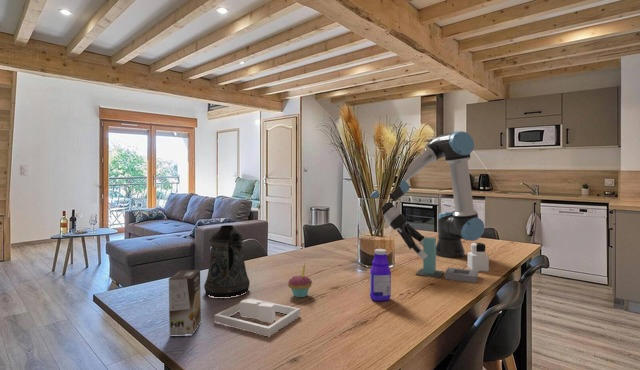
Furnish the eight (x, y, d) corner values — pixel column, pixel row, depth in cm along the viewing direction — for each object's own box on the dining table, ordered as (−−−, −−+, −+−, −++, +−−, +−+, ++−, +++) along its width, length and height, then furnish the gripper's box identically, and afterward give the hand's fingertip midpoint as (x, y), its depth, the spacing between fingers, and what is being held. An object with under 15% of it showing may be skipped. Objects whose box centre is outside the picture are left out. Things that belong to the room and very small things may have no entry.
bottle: (387, 295, 128) (387, 247, 127) (393, 301, 122) (393, 251, 122) (367, 297, 126) (367, 248, 126) (372, 302, 121) (372, 252, 120)
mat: (420, 269, 162) (420, 268, 162) (443, 272, 157) (443, 271, 157) (415, 275, 153) (415, 273, 153) (439, 278, 148) (439, 277, 148)
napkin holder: (231, 317, 110) (230, 299, 110) (264, 309, 117) (264, 292, 117) (249, 335, 98) (249, 314, 98) (286, 324, 104) (285, 305, 104)
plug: (425, 270, 159) (425, 237, 158) (435, 271, 156) (435, 237, 156) (423, 272, 155) (423, 238, 154) (433, 274, 152) (433, 239, 152)
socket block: (448, 272, 156) (448, 267, 156) (478, 276, 150) (478, 270, 150) (444, 278, 147) (444, 272, 147) (475, 282, 142) (476, 276, 142)
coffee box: (193, 336, 96) (192, 278, 96) (169, 337, 96) (167, 279, 95) (201, 322, 106) (200, 269, 105) (179, 323, 105) (178, 270, 105)
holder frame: (249, 305, 119) (249, 298, 119) (300, 316, 110) (300, 308, 109) (214, 323, 105) (214, 314, 105) (269, 337, 95) (268, 328, 95)
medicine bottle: (483, 267, 165) (483, 241, 164) (488, 271, 158) (489, 244, 157) (467, 267, 165) (467, 241, 165) (472, 271, 158) (472, 244, 158)
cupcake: (315, 293, 131) (314, 260, 131) (306, 300, 123) (306, 266, 123) (293, 290, 134) (293, 259, 133) (284, 298, 126) (283, 264, 125)
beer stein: (225, 282, 144) (224, 221, 143) (264, 289, 136) (263, 224, 135) (194, 295, 129) (193, 227, 128) (236, 303, 121) (235, 231, 120)
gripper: (396, 220, 174) (427, 254, 167) (380, 227, 152) (415, 266, 145) (407, 210, 171) (439, 244, 165) (392, 216, 149) (429, 255, 143)
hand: (428, 254), depth 155 cm, fingers open, 13 cm apart
